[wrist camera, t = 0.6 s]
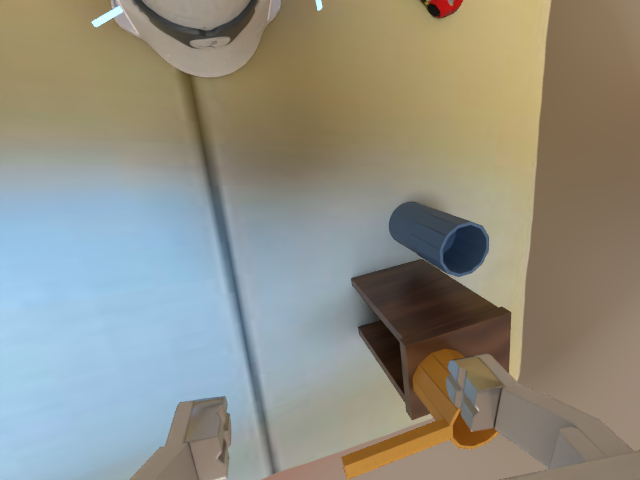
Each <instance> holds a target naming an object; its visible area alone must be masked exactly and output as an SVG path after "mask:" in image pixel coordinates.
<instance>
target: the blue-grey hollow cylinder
mask: <svg viewBox="0 0 640 480" xmlns="http://www.w3.org/2000/svg"><path fill="white" fill-rule="evenodd" d="M389 229H390V233H391V235H392V237H393V238H394V239H395V240H396V241H398V242H399V243H401V244H402V245H404V246H406V247H407V248H409V249H411V250H412V251H414V252H415V253H417V254H418V255H419V256H420V257H422V258H424V259H425V260H427V261H429V262H430V263H432V264H433V265H435V266H437V267H438V268H440V269H441V270H443V271H445V272H446V273H448V274H451V275H454V276H458V277H460V276H464V275H467V274H470V273H472V272H473V271H475V270H476V269H477V268H478V267H479V266H480V265H481V264H482V263H483V261H484V259H485V257H486V255H487V253H488V250H489V236H488V234H487V233H486V231H485V229H484V228H483V226H481V225H479V224H476V223H473V222H470V221H468V220H465V219H462V218H459V217H456V216H453V215H451V214H448V213H445V212H442V211H439V210H436V209H433V208H430V207H428V206H425V205H422V204H419V203H416V202H407V203H404V204H402V205H400V206H399V207H398V208H397V209H396V210H395V211H394V212H393V214H392V216H391V218H390V222H389Z"/></svg>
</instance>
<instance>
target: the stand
mask: <svg viewBox="0 0 640 480" xmlns="http://www.w3.org/2000/svg"><path fill="white" fill-rule="evenodd" d="M351 280H352V286H353V287H354V288H355V289H356V291H357V292H358V293H359V294H360V295H361V297H362V298H363V299H364V300H365V301H366V303H367V304H368V305H369V306H370V307H371V309H372V310H373V311H374V312H375V313H376V314H377V316H378V317H379V318H380V319H381V320H382V321H379V322H375V323H372V324H369V325H365V326H362V327H359V328H358V330H359V335H360V336H361V338H362V339H363V341H364V342H365V344H366V345H367V347H368V348H369V350H370V351H371V353H372V354H373V356H374V357H375V359H376V360H377V362H378V363H379V365H380V366H381V368H382V369H383V371H384V372H385V374H386V375H387V377H388V378H389V380H390V381H391V383H392V384H393V386H394V387H395V389H396V390H397V392H398V393H399V395H400V396H401V398H402V399H403V401H404V402H405V404H406V412H407V413H408V415H409V416H410V418H411V419H412V420H414V419H417V418H419V417H422V416H425V415H427V414H430V412H429V411H428V409H427V408H426V407H425V405H424V404H423V403H422V401H421V400H420V398H419V397H418V396H417V394H416V393H415V392H414V390H413V375H414V373H415V371H416V369H417V367H418V365H419V363H421V362H422V361H423V360H424V359H425V358H426V357H427V356H428V355H430V354H431V353H433V352H436V351H439V350H442V349H451V350H456V351H458V352H459V353H460V354H462V355H463V356H464V357H465V358H466V357H472V356H477V355H483V354H490V355H491V356H492V357H493V358H494V359H495V360H496V361H497V362H498V363H499V364H500V365H501V366H502V367H503V368H504V369H505V370H506V371H507V372H508V373H509V356H510V330H511V312H510V311H508V310H507V309H505V308H504V307H499V308H498V307H497V306H495V305H494V304H492V303H490V302H489V301H487V300H486V299H484V298H482V297H481V296H479V295H478V294H476V293H475V292H473V291H471V290H470V289H468V288H467V287H465V286H463V285H462V284H460V283H459V282H457V281H456V280H454V279H452V278H451V277H449V276H448V275H446V274H445V273H443V272H441V271H440V270H438V269H437V268H435V267H433V266H432V265H430V264H429V263H427V262H426V261H424V260H422V259H421V260H417V261H414V262H410V263H406V264H402V265H399V266H395V267H391V268H388V269H384V270H380V271H377V272H373V273H369V274H366V275H362V276H358V277H354V278H351Z"/></svg>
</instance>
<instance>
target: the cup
mask: <svg viewBox="0 0 640 480" xmlns="http://www.w3.org/2000/svg"><path fill="white" fill-rule="evenodd" d="M460 358H465V357H464V356H463V355H462V354H460V353H459V352H458V351H456V350H451V349H442V350H439V351H436V352H433V353H431V354H430V355H428V356H427V357H426V358H425V359H424V360H423V361H422V362H421V363H419V365H418V367H417V369H416V371H415V373H414V375H413V390H414V392H415V393H416V394H417V396H418V397H419V398H420V400H421V401H422V403H423V404H424V405H425V407H426V408H427V409H428V411H429V412H430V413H431V415H432V416H433V418H434V419H435V420H436V421H435V422H432V423H430V424H427V425H425V426H422V427H419V428H416V429H414V430H411V431H408V432H406V433H403V434H401V435H398V436H395V437H393V438H390V439H388V440H385V441H382V442H379V443H377V444H374V445H372V446H369V447H366V448H364V449H361V450H358V451H356V452H353V453H351V454H348V455H345V456H343V457H342V463H343V468H344V472H345V475H346V478H347V479H351V478H353V477H356V476H358V475H361V474H364V473H366V472H369V471H371V470H374V469H376V468H379V467H381V466H384V465H386V464H389V463H391V462H394V461H396V460H399V459H401V458H404V457H407V456H409V455H412V454H414V453H417V452H419V451H422V450H424V449H427V448H429V447H432V446H434V445H437V444H439V443H442V442H444V441H447V440H451V441H452V442H453V443H454V444H455V445H456V446H457V447H458V448H463V449H474V448H477V447H479V446H481V445H484V444H486V443H488V442H489V441H491V440H492V439H493V438H494V437H495V436H496V435H497V434H498V433H499V432H497V431H496V430H495V429H494V428H491V429H485V430H478V431H472V432H471V430H470V429H469V427H468V426H467V424H466V423H465V421H464V420H463V418H462V417H461V409H459V408H458V407H456V406H454V405H453V403H452V401H451V400H450V398H449V395H448V393H447V388H446V378H447V377H448V376H449V375H450V372H449V370H448V363H449V361H450V360H454V359H460Z"/></svg>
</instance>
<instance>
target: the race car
mask: <svg viewBox="0 0 640 480" xmlns="http://www.w3.org/2000/svg"><path fill="white" fill-rule="evenodd" d="M462 1H463V0H423V2H424V3H425V4H426V5H428V4H429V6H428V10H429V12H430V14H432V15H433V16H438V15H439V14H440V15H439V16H438V18H441V17H446V16H448V15H450V14H453V13H454V12H455V11H457V9H458V8H459V7H460V5H461V3H462Z"/></svg>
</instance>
